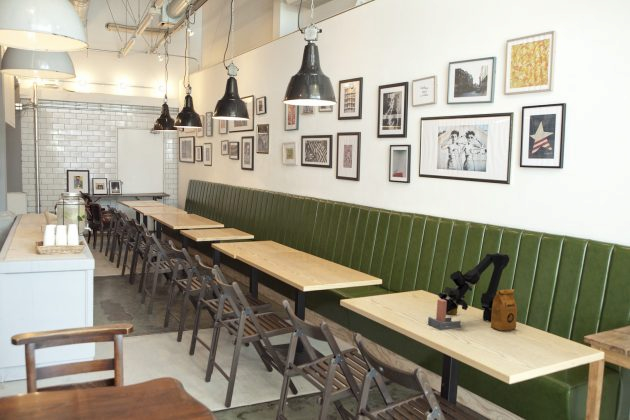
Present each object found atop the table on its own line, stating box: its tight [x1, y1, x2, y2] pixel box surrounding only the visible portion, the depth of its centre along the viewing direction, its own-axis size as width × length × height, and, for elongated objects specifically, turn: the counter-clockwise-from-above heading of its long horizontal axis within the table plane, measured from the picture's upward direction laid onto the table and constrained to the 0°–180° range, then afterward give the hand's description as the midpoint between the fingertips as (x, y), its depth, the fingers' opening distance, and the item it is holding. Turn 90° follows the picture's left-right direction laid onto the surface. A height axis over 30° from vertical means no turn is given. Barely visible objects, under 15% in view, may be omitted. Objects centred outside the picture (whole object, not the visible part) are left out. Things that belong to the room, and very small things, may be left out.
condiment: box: [446, 308, 461, 318], centre depth 315 cm, size 7×8×12 cm
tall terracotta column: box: [435, 298, 447, 323], centre depth 289 cm, size 3×5×13 cm, turn 28°
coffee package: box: [490, 289, 518, 331], centre depth 290 cm, size 10×12×22 cm
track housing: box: [427, 316, 463, 331], centre depth 291 cm, size 15×10×4 cm
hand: (443, 312), depth 290 cm, fingers closed
